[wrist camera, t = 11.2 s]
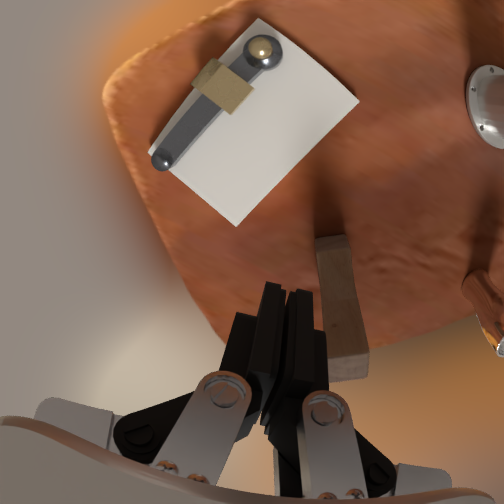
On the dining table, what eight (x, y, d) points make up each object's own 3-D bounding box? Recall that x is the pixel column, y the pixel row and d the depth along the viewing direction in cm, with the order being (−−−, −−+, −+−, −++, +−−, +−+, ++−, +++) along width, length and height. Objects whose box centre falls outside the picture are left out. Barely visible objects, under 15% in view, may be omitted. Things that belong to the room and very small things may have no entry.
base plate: (259, 21, 27) (258, 18, 26) (357, 101, 31) (359, 101, 29) (152, 150, 37) (147, 152, 36) (238, 222, 41) (236, 226, 39)
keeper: (248, 32, 27) (242, 22, 23) (287, 60, 28) (285, 53, 24) (200, 86, 31) (187, 83, 27) (236, 114, 32) (228, 115, 28)
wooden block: (314, 237, 40) (321, 324, 24) (345, 232, 39) (371, 317, 23) (321, 290, 44) (326, 384, 28) (349, 286, 43) (368, 379, 27)
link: (263, 32, 27) (261, 27, 25) (291, 54, 28) (290, 51, 26) (150, 154, 36) (143, 157, 34) (173, 175, 37) (167, 179, 35)
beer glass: (461, 269, 38) (503, 328, 25) (492, 262, 37) (536, 316, 24) (456, 303, 41) (490, 363, 28) (485, 295, 40) (522, 350, 27)
